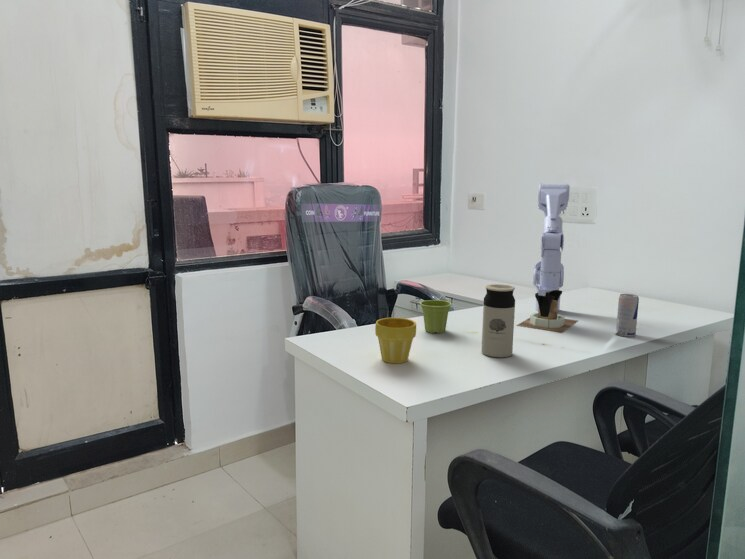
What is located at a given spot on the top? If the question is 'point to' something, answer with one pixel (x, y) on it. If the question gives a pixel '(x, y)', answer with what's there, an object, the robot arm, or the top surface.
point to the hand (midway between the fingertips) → (547, 314)
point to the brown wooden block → (551, 311)
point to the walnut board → (567, 324)
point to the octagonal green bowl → (547, 321)
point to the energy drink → (627, 315)
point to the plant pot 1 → (395, 338)
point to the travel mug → (498, 320)
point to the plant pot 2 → (435, 315)
